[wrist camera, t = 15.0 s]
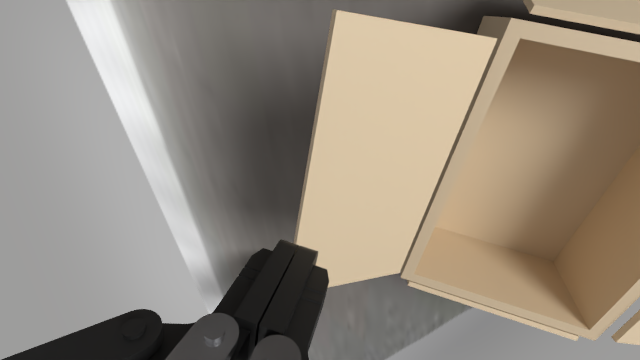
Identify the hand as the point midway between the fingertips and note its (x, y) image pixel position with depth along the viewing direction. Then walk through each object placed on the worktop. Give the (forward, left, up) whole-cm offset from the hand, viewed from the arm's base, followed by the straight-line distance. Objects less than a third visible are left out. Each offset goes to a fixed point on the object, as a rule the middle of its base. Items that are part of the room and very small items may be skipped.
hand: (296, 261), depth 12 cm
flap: (0, +6, -11) cm, 12 cm away
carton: (0, +14, -19) cm, 23 cm away
